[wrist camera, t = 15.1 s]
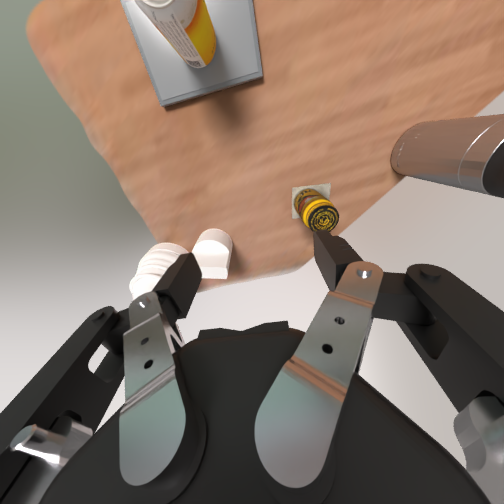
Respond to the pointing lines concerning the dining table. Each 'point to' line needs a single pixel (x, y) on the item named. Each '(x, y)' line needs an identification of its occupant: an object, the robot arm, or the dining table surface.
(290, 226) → the dining table surface
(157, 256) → the honey pot
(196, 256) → the base with upright slab
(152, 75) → the grey flat slab
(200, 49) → the beer can
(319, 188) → the condiment
